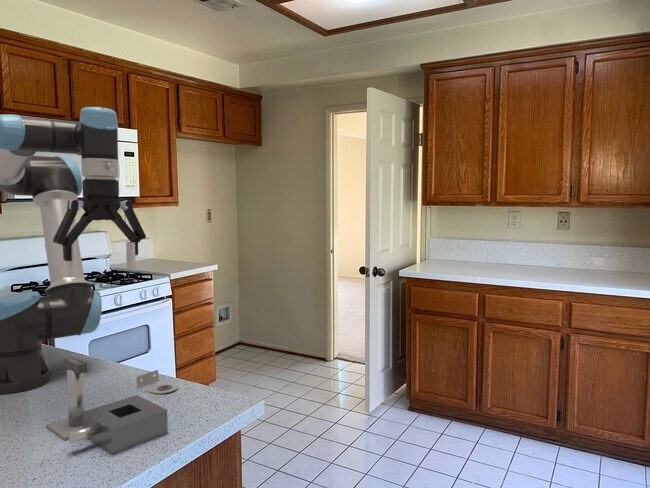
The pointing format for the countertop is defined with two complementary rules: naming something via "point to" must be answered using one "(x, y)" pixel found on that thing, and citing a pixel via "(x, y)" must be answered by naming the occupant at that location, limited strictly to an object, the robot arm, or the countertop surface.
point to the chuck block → (122, 424)
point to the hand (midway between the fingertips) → (103, 272)
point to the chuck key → (75, 390)
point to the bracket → (150, 379)
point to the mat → (62, 428)
